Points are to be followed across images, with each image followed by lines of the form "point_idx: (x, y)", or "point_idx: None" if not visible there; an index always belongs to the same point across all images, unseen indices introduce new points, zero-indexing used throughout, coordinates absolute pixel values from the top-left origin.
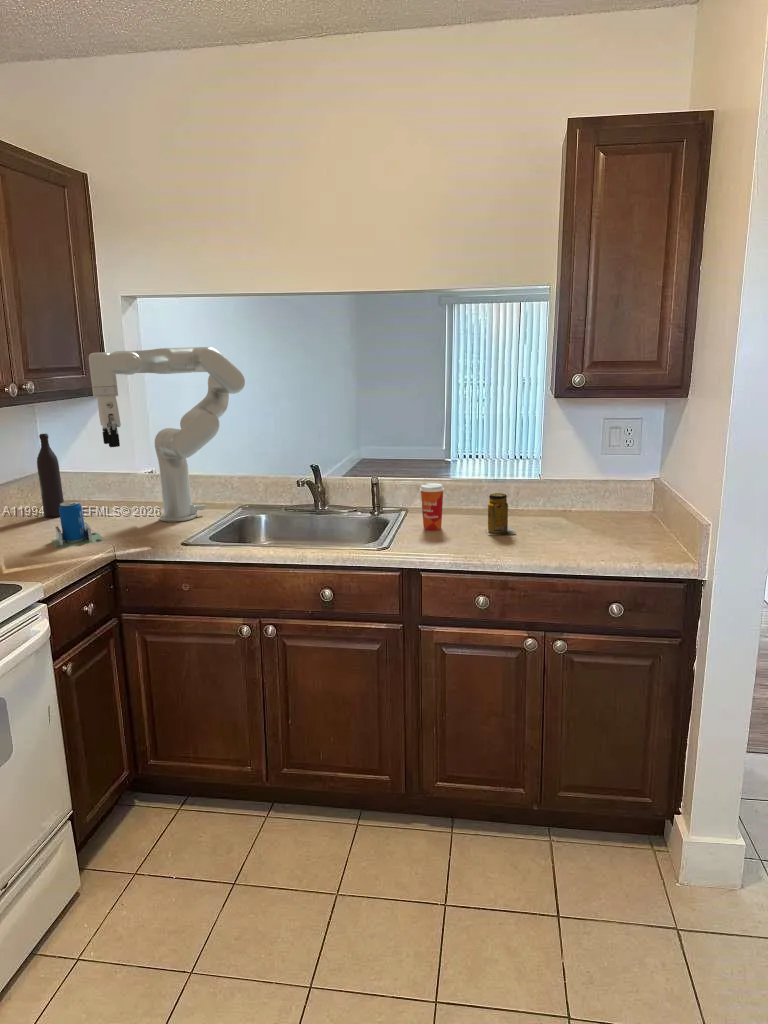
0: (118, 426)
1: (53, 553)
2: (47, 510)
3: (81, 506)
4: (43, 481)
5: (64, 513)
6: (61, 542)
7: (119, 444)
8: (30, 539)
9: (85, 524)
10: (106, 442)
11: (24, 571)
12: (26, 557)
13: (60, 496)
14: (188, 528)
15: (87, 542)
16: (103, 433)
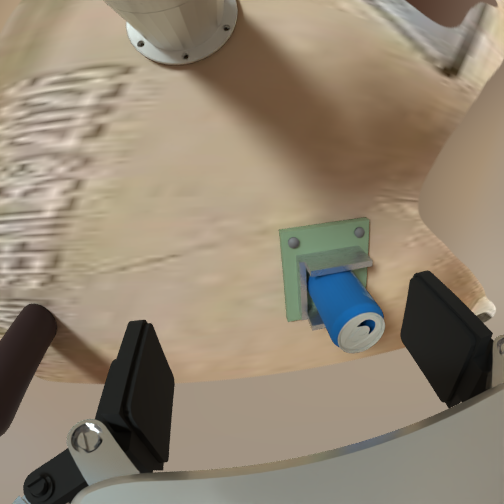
0: (423, 421)
1: None
2: (51, 341)
3: (366, 302)
4: (26, 389)
5: (371, 329)
6: None
7: (434, 277)
8: (234, 352)
9: (334, 272)
10: (169, 376)
11: None
12: None
13: (25, 335)
14: (325, 14)
15: None
16: (168, 455)
